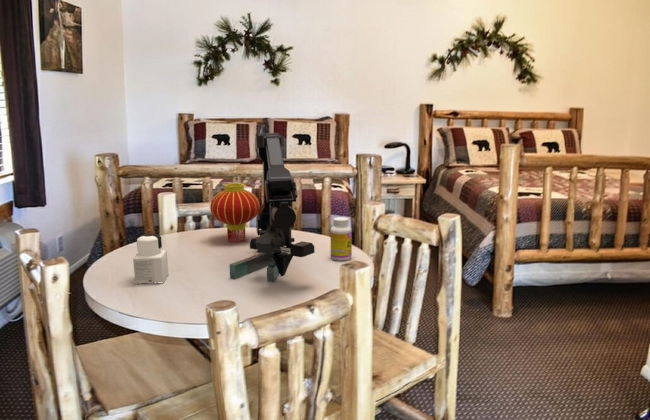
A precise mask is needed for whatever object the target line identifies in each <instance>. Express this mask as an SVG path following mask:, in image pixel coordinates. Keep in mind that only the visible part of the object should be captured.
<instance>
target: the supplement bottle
mask: <svg viewBox="0 0 650 420" xmlns="http://www.w3.org/2000/svg"><path fill="white" fill-rule="evenodd" d="M349 221H350V220H349V218H348V217H345V216H344V217H343V216H337V217H334V218H333V224H334V225H333V226H331V228H330V258H331V259H332V260H333V261H337V260H338V261H340V262H343V261H349V260H350V259H352V250H353V247H352V246H353V245H352V243H353V242H352V240H353V239H352V237H353V236H352V235H353V232H352V228H351V226H349V225H348V224H349Z"/></svg>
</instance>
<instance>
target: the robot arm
mask: <svg viewBox="0 0 650 420" xmlns="http://www.w3.org/2000/svg"><path fill="white" fill-rule="evenodd" d="M254 146H255V147H254V148H255V149H256V150H257V153H258V156H259V158H260V160H261V161H262V194H263V195H262V197H263V198H262V199H263V201H262V202H263V203H262V204H261V206H260V207H259V212H258V216H256V234H257V236H255V237H252V238H251V239H250V241H249V249H251V250H255V251H256V252H258V253H259V254H260V253H262V252H264V253H266V254H268V255H270V256H271V257H272V258H273V259H274V261H275V264H276V266H277V269H278V271H279V276H280V277H284V276H286V273H287V271H288V268H289V266H290V263H291V262H292V259H293V258H294V257H298V258H304V257H307V256H310V255H312V254H315V245H314V243H313V242H307V241H303V240H302V241H299V242H296V243H294V242H295V237H292V236H293V235H292V228H295V223H296V221H297V215H296V212H295V211H294V209H293V207H292V203H293V202H295V203H296V202H297V198H298V190H297V189H298V188H297V184H296V182H295V179H294V178H292V175H291V171H290V170H289V169H287V168H286V167H285V164H284V163H285V162H284V158H283V151H282V149H284V148H285V135H283V134H280V133H279V132H265V133H264V132H262V133H261V132H260V133H258V135H257V136H255V137H254Z"/></svg>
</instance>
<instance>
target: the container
mask: <svg viewBox="0 0 650 420" xmlns="http://www.w3.org/2000/svg"><path fill="white" fill-rule="evenodd" d="M136 244H137V245H136V246H137V253H136V255H134V257H133V259H132V260H133V261H132V262H133V273H134V283H155V282H156V283H158V282H165V281H166V280H167V278H166V277H168V276H169V264H168V263H169V262H168V251H167V249H163V243H162V236H161V235H160V234H157V233H145V234H141V235H139V236H138V237H136ZM167 275H168V276H167ZM164 280H165V281H164Z"/></svg>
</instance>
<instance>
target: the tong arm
mask: <svg viewBox="0 0 650 420" xmlns="http://www.w3.org/2000/svg"><path fill="white" fill-rule="evenodd" d="M279 276H280V274H279V271H278V269H277V266H276V264H275V261H274V259H273V260H272V262H271V263H270V264H269V266H267V267H266V283H275V282H276V281H277V279H278V277H279Z"/></svg>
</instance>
